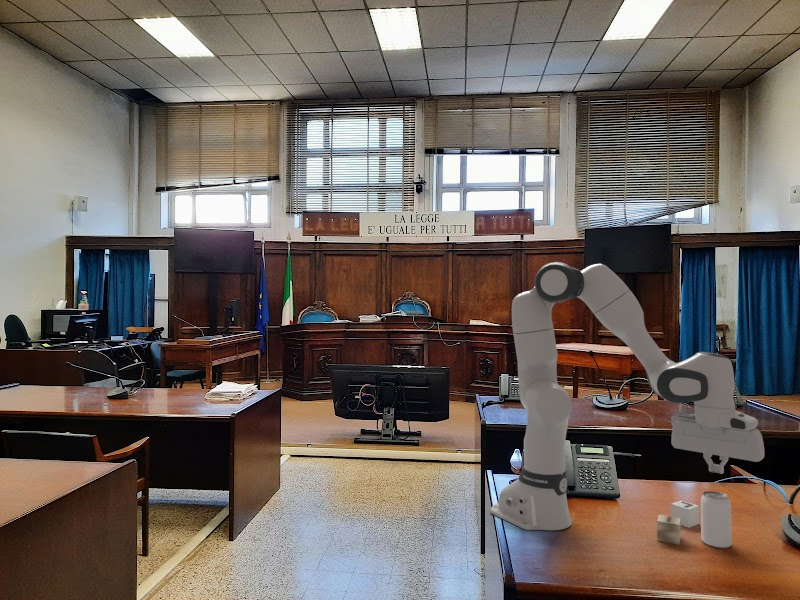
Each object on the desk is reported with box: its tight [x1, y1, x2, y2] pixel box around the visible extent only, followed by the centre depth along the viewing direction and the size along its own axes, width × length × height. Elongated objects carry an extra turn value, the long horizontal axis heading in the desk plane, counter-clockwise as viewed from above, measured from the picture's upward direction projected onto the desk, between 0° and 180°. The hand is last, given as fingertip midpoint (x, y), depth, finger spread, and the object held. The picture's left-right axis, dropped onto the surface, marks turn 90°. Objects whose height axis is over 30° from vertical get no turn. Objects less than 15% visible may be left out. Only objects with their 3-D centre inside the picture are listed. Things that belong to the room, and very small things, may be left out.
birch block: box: [656, 514, 682, 546], centre depth 135 cm, size 5×5×5 cm
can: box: [700, 490, 732, 549], centre depth 133 cm, size 6×6×12 cm
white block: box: [670, 499, 700, 529], centre depth 145 cm, size 5×5×5 cm
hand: (716, 472), depth 133 cm, fingers closed
